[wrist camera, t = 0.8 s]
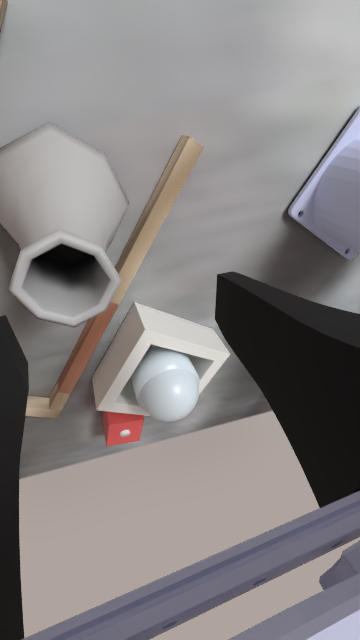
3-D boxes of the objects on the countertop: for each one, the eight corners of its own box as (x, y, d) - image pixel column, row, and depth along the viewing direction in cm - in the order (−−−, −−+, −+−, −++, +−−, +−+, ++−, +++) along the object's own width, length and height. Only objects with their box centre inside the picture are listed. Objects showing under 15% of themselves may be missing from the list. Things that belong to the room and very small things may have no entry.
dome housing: (212, 328, 27) (230, 354, 24) (168, 390, 30) (180, 419, 27) (134, 302, 22) (145, 329, 20) (91, 377, 25) (96, 410, 23)
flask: (45, 89, 14) (34, 78, 6) (148, 201, 19) (214, 272, 11) (-44, 202, 15) (-137, 303, 8) (73, 281, 20) (85, 393, 12)
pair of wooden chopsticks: (195, 145, 18) (203, 147, 17) (57, 407, 26) (57, 418, 25) (-22, -20, 12) (-28, -31, 11) (-110, 389, 20) (-118, 403, 19)
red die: (136, 393, 28) (144, 420, 26) (132, 414, 30) (139, 441, 28) (104, 397, 27) (109, 425, 25) (102, 418, 29) (106, 446, 26)
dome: (199, 352, 25) (223, 394, 21) (169, 393, 27) (187, 438, 23) (148, 338, 22) (166, 384, 19) (119, 384, 24) (130, 434, 20)
